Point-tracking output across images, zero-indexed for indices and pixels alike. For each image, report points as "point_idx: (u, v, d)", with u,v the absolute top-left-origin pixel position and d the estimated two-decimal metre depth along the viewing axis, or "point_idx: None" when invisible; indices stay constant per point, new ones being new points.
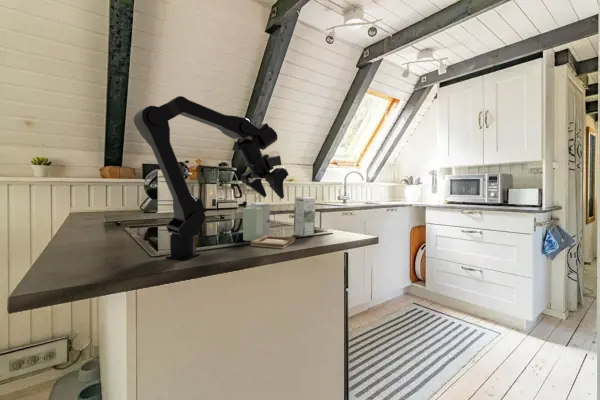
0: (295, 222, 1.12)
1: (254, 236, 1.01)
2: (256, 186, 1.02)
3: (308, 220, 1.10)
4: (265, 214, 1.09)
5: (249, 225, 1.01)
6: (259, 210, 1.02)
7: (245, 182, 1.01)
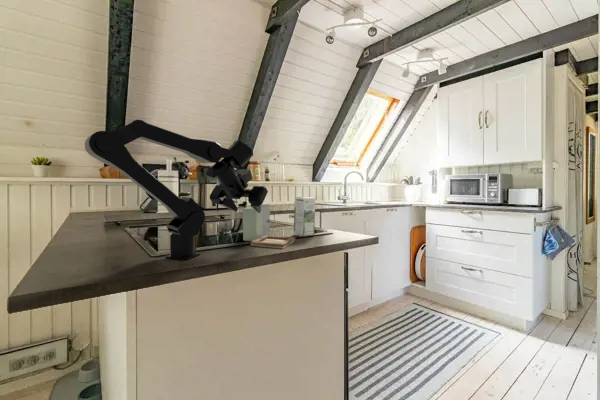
0: (295, 222, 1.12)
1: (254, 236, 1.01)
2: (228, 204, 0.97)
3: (308, 220, 1.10)
4: (265, 214, 1.09)
5: (249, 225, 1.01)
6: None
7: (216, 202, 0.95)
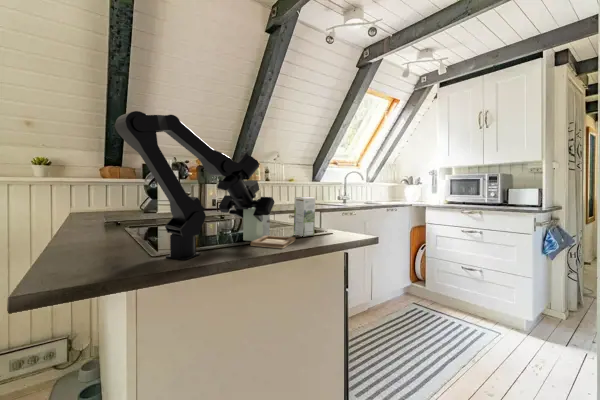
0: (295, 222, 1.12)
1: (254, 236, 1.01)
2: (240, 213, 1.01)
3: (308, 220, 1.10)
4: None
5: (249, 225, 1.01)
6: None
7: (225, 211, 1.00)
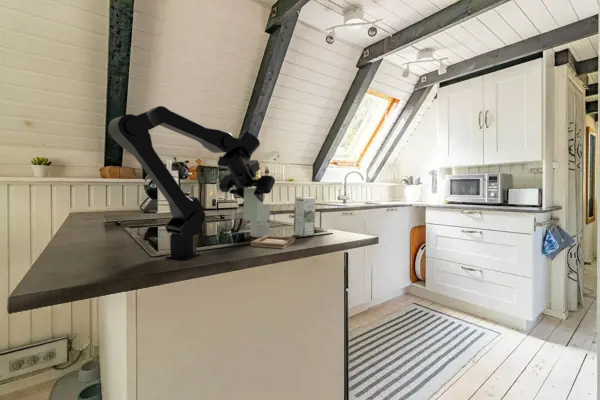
0: (295, 222, 1.12)
1: (254, 216, 1.00)
2: (241, 193, 1.01)
3: (308, 220, 1.10)
4: (265, 214, 1.09)
5: (249, 205, 1.00)
6: None
7: (226, 191, 0.99)
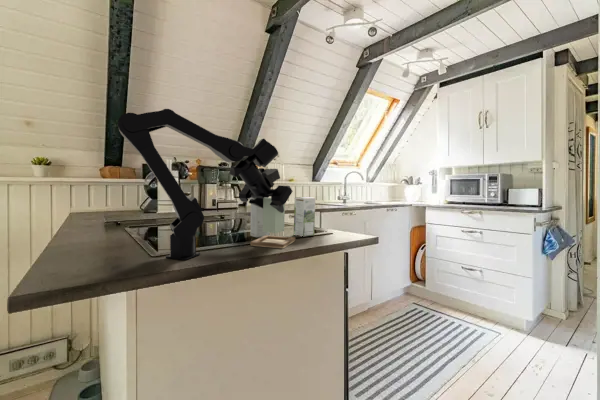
0: (295, 222, 1.12)
1: (273, 228, 0.95)
2: (260, 203, 0.97)
3: (308, 220, 1.10)
4: None
5: (268, 216, 0.96)
6: None
7: (245, 201, 0.96)
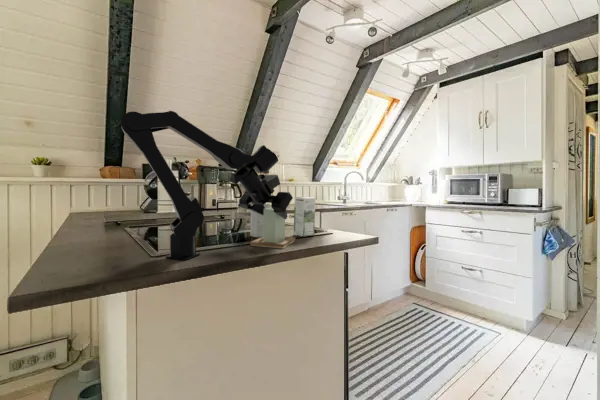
0: (295, 222, 1.12)
1: (273, 238, 0.95)
2: (258, 209, 0.98)
3: (308, 220, 1.10)
4: None
5: (268, 227, 0.96)
6: None
7: (245, 207, 0.96)
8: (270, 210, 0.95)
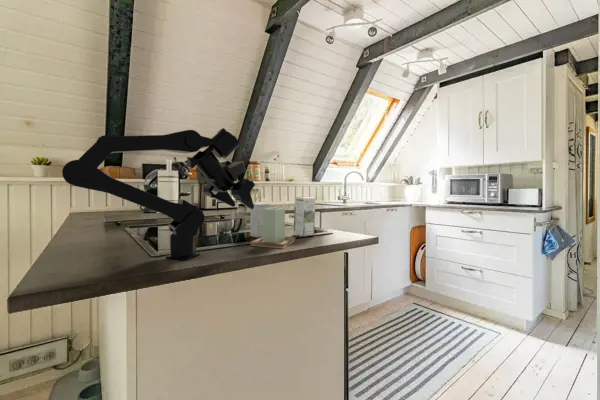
0: (295, 222, 1.12)
1: (273, 238, 0.95)
2: (222, 198, 0.92)
3: (308, 220, 1.10)
4: None
5: (268, 227, 0.96)
6: (279, 211, 0.96)
7: (209, 195, 0.91)
8: (270, 210, 0.95)
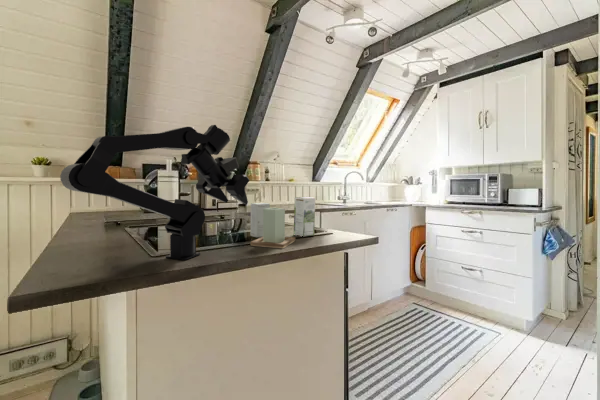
0: (295, 222, 1.12)
1: (273, 238, 0.95)
2: (215, 194, 0.93)
3: (308, 220, 1.10)
4: None
5: (268, 227, 0.96)
6: (279, 211, 0.96)
7: (202, 191, 0.92)
8: (270, 210, 0.95)
